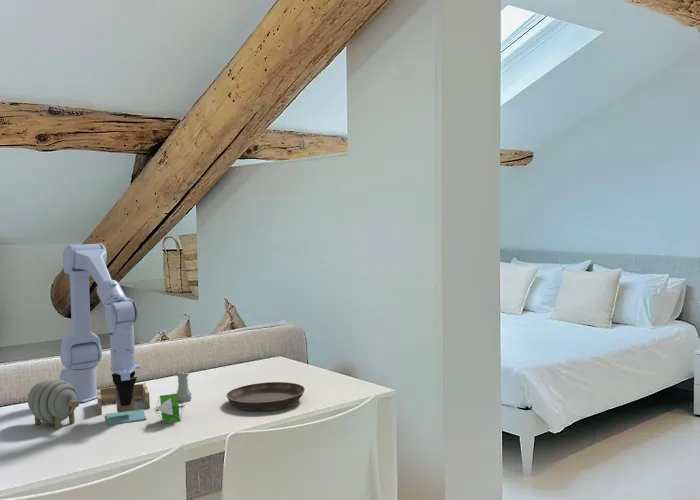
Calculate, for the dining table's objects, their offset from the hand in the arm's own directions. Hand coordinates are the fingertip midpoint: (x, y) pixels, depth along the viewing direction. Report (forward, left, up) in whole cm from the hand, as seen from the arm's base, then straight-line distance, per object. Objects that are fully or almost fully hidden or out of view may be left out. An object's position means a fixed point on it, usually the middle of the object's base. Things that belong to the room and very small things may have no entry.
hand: (125, 403), depth 169 cm
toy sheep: (-13, -10, -4) cm, 17 cm away
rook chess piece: (+4, +18, -4) cm, 19 cm away
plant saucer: (+27, +23, -4) cm, 36 cm away
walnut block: (0, 0, -2) cm, 2 cm away
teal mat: (0, 0, -4) cm, 4 cm away
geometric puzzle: (+13, +1, -4) cm, 13 cm away
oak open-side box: (-8, +8, -4) cm, 12 cm away
